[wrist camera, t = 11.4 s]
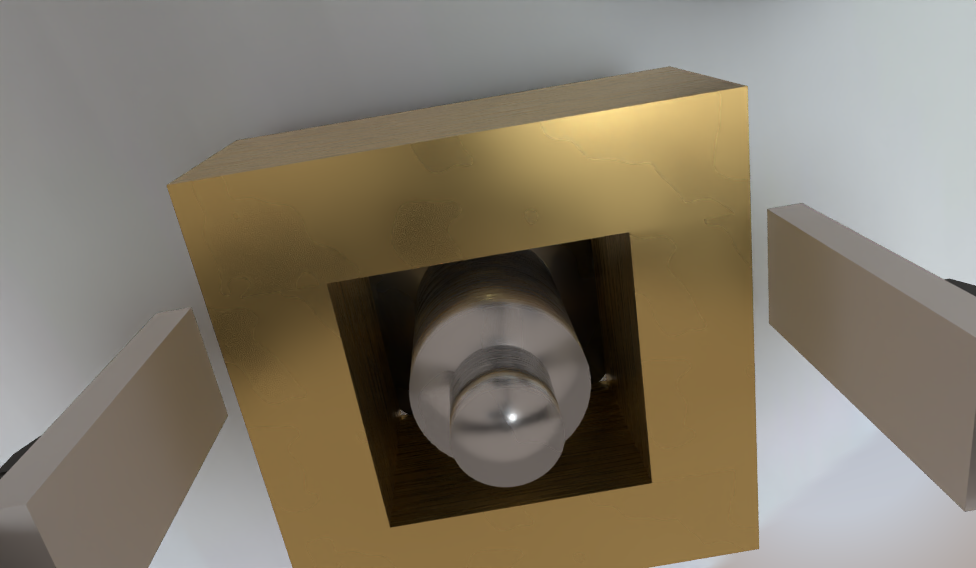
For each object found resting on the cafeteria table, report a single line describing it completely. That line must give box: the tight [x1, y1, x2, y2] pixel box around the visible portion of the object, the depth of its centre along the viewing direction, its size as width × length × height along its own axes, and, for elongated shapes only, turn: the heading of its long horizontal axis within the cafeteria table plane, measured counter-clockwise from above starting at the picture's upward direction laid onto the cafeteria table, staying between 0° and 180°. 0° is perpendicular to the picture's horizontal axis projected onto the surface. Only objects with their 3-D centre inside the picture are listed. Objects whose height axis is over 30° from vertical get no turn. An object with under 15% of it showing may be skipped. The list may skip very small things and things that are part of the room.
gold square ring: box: [167, 67, 759, 568], centre depth 14 cm, size 9×9×4 cm
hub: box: [369, 239, 606, 487], centre depth 15 cm, size 7×7×8 cm
